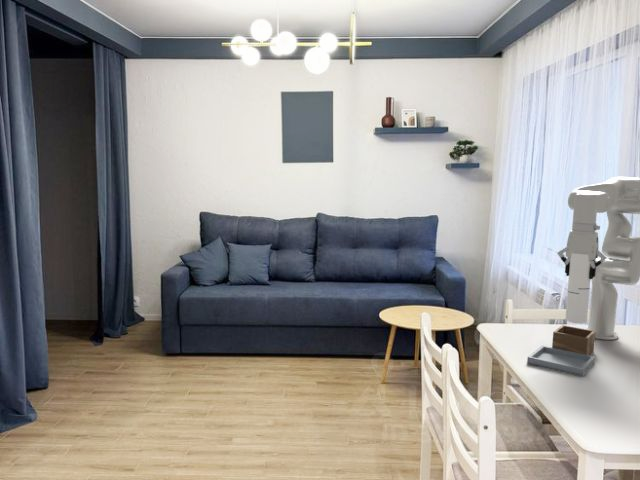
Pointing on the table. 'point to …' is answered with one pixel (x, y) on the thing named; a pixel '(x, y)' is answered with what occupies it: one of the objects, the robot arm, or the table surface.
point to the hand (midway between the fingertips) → (579, 276)
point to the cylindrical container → (578, 288)
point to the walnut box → (574, 340)
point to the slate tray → (561, 360)
